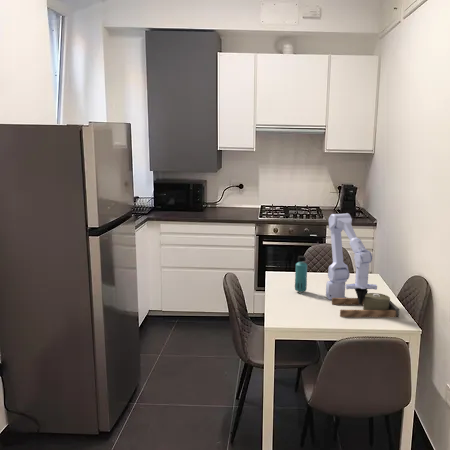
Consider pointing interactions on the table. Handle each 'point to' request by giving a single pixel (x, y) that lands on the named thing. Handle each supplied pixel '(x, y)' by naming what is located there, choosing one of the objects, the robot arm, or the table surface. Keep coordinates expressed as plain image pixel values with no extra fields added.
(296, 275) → the beverage bottle
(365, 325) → the table surface
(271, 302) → the table surface
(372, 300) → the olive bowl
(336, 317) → the table surface
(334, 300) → the bay
